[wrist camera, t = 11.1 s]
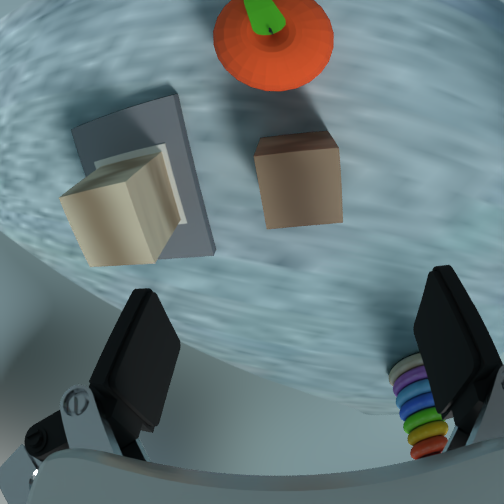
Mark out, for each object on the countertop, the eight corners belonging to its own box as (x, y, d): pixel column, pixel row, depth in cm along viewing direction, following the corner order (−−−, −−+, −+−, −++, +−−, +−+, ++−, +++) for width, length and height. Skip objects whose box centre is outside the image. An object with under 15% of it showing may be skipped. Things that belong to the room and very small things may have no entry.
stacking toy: (379, 367, 36) (393, 497, 20) (431, 341, 32) (463, 475, 17) (398, 385, 39) (412, 497, 23) (443, 364, 35) (469, 477, 20)
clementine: (204, 10, 15) (168, -11, 10) (296, -23, 13) (300, -60, 7) (248, 101, 19) (232, 117, 14) (340, 71, 17) (365, 74, 11)
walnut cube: (327, 130, 20) (339, 147, 16) (332, 191, 23) (342, 222, 19) (260, 137, 21) (253, 156, 17) (270, 197, 24) (266, 229, 20)
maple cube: (161, 151, 21) (125, 181, 16) (180, 219, 24) (154, 263, 19) (100, 166, 22) (58, 197, 17) (122, 226, 25) (90, 266, 21)
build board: (177, 93, 19) (172, 95, 18) (216, 249, 27) (213, 256, 26) (77, 126, 21) (70, 129, 20) (124, 256, 29) (120, 262, 28)
